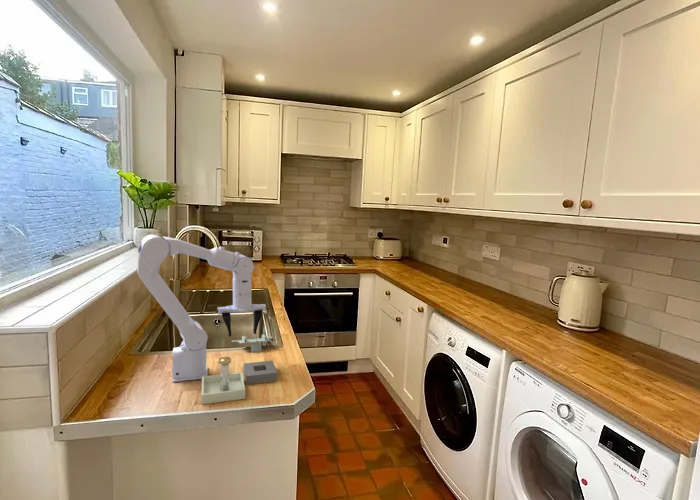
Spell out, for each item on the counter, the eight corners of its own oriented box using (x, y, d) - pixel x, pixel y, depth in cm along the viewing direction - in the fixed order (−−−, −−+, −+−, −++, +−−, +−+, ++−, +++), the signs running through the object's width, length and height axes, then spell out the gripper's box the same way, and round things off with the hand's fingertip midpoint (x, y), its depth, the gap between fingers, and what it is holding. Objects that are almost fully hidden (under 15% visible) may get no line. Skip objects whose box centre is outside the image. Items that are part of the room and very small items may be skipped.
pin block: (246, 384, 109) (246, 376, 108) (243, 371, 117) (243, 363, 117) (277, 380, 112) (277, 372, 111) (272, 367, 120) (272, 360, 120)
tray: (201, 404, 97) (201, 395, 97) (202, 384, 107) (202, 376, 107) (245, 398, 101) (245, 389, 100) (241, 380, 111) (241, 372, 111)
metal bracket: (277, 334, 135) (234, 338, 129) (278, 351, 134) (234, 355, 129) (270, 333, 148) (231, 336, 143) (271, 348, 147) (231, 351, 142)
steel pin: (218, 392, 102) (218, 362, 101) (218, 387, 105) (218, 357, 104) (230, 391, 103) (231, 361, 102) (230, 386, 106) (230, 356, 105)
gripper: (218, 297, 112) (218, 340, 114) (267, 294, 117) (267, 336, 119) (217, 292, 118) (218, 333, 120) (264, 289, 124) (264, 329, 125)
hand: (242, 334), depth 120 cm, fingers open, 7 cm apart
